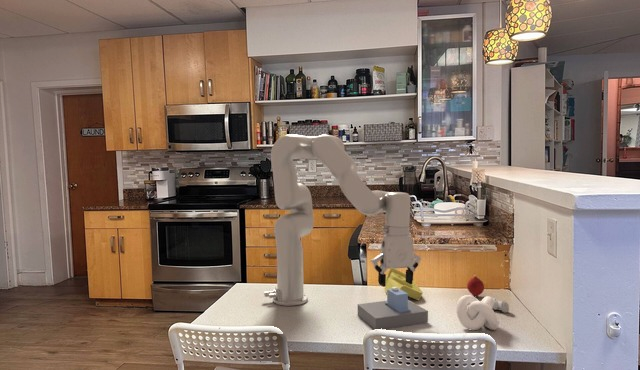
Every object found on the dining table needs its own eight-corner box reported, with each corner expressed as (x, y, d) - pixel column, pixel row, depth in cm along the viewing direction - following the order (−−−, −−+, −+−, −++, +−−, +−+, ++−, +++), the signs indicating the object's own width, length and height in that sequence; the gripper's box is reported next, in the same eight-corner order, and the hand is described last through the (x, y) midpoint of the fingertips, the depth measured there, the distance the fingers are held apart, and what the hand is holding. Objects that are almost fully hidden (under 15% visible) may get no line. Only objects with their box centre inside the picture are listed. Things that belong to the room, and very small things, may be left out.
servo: (399, 322, 123) (399, 293, 123) (384, 311, 132) (384, 285, 131) (410, 320, 124) (410, 292, 124) (395, 310, 133) (395, 284, 133)
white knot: (463, 316, 129) (464, 288, 129) (504, 324, 122) (504, 295, 122) (453, 328, 120) (453, 298, 120) (496, 337, 113) (496, 306, 113)
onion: (485, 295, 150) (485, 274, 149) (482, 300, 145) (482, 278, 144) (468, 293, 153) (469, 272, 152) (465, 297, 148) (465, 276, 148)
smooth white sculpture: (483, 310, 138) (495, 304, 139) (500, 318, 130) (512, 311, 132) (480, 299, 137) (492, 293, 139) (497, 306, 130) (509, 299, 131)
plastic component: (424, 294, 144) (400, 283, 143) (415, 312, 145) (391, 301, 144) (409, 275, 164) (388, 265, 163) (401, 291, 165) (380, 281, 164)
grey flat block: (375, 330, 118) (375, 318, 118) (357, 315, 131) (357, 304, 130) (427, 322, 124) (427, 311, 124) (405, 308, 136) (405, 298, 136)
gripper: (378, 234, 121) (376, 290, 121) (427, 232, 126) (425, 285, 127) (367, 230, 128) (366, 283, 129) (414, 228, 133) (412, 278, 134)
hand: (395, 284), depth 128 cm, fingers open, 9 cm apart
